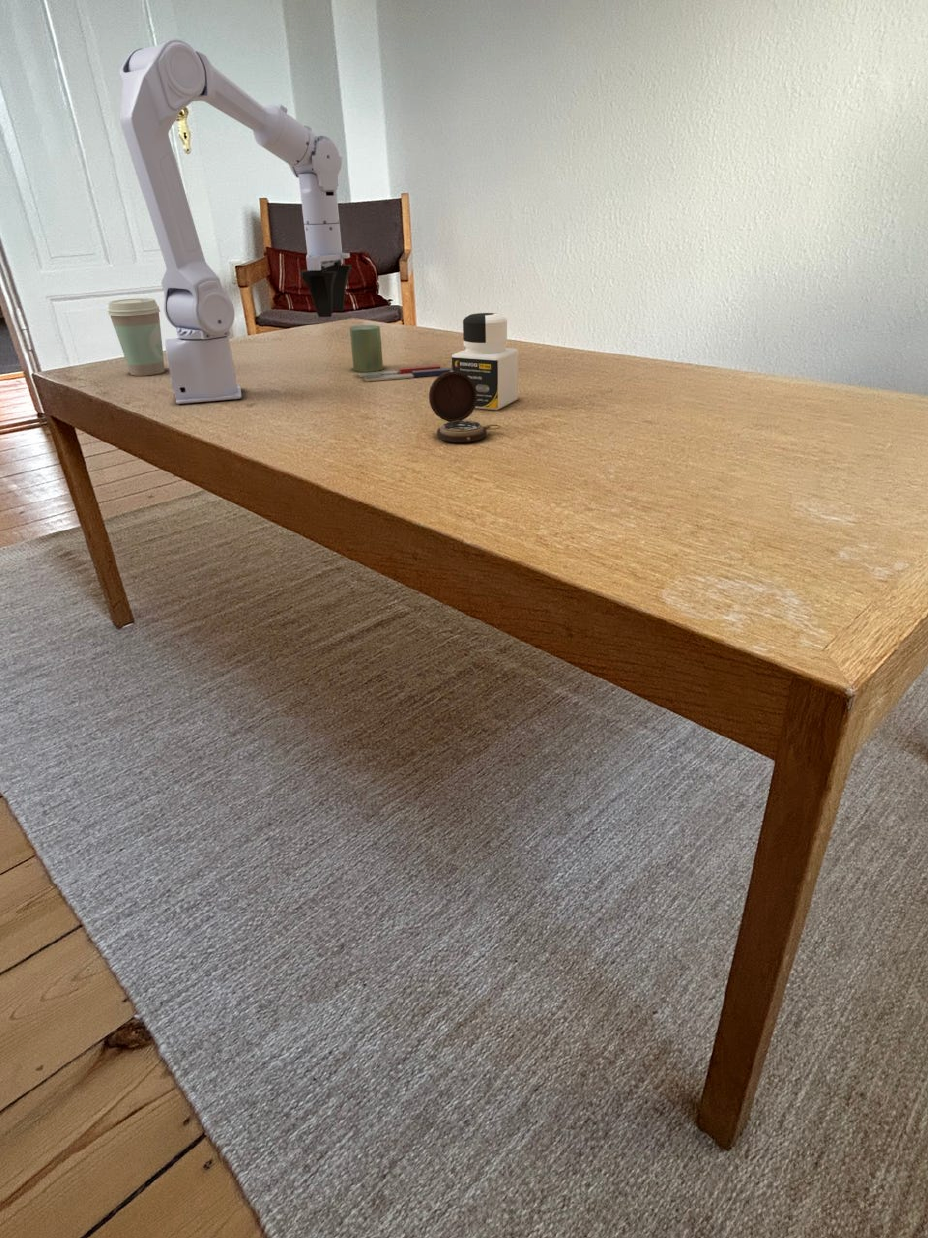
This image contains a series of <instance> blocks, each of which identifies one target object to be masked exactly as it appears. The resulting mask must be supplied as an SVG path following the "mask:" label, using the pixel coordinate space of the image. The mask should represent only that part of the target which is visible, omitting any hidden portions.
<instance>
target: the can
mask: <svg viewBox="0 0 928 1238" xmlns="http://www.w3.org/2000/svg"><path fill="white" fill-rule="evenodd" d="M349 337H350V346H351V348H350V349H351V356H352V357H351V359H352V368H353V371H354V372H358V373H370V372H380V371H382V370H384V362H383V351H382V336H381V326H380V325H376V324H360V325H359V324H358V325H353V326H350V327H349Z"/></svg>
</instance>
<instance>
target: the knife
mask: <svg viewBox="0 0 928 1238" xmlns="http://www.w3.org/2000/svg"><path fill="white" fill-rule="evenodd" d="M450 370H452V367H446V368H445V367H443V368H442V367H441V368H440V369H430V370H418V371H412V373H409V374H400V373H398V374H397V375H385V376H373V377H364V380H365V382H366V383H368V382H378V381H379V382H381V381H392V380H403V379H414V378H425V377H438V376H440V375H441V374H443V373H445V372H450Z"/></svg>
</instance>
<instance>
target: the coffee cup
mask: <svg viewBox="0 0 928 1238" xmlns="http://www.w3.org/2000/svg"><path fill="white" fill-rule="evenodd" d="M107 312H108V313H107V316H109V317H110V319H111V322H112V325H113V328H114V331H115V334H116V337H117V339H118V342H119V345H120V348H121V351H122V355H123V357H124V359H125V362H126V365H127V368H128V370H129V373H130V375H132V376H137V377H144V376H155V375H159V374H162V373H164V372H165V371H166V370H165V369H166V368H165V359H164V349H163V339H162V329H161V328H162V327H161V320H160V313H161V310H160V307H159V305H158V304H157V301H156V300H155V298H148V297H146V298H144V297H143V298H142V297H141V298H139V297H138V298H126V299H123V298H122V299H117V300H111V301H109V302H108V309H107Z"/></svg>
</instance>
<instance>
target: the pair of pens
mask: <svg viewBox="0 0 928 1238" xmlns="http://www.w3.org/2000/svg"><path fill="white" fill-rule="evenodd" d="M430 369H441V366H440V365H439V364H431V365H430V364H429V365H419V366H417V365H416V366H406V367H398V371H397V370H395V369H394V370H385V371H374V372H358V373H357V375H358V377H359V379H361V378H364V377H373V376H385V375H397V374H409V373H412V371H418V370H430ZM364 379H365V378H364Z"/></svg>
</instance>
